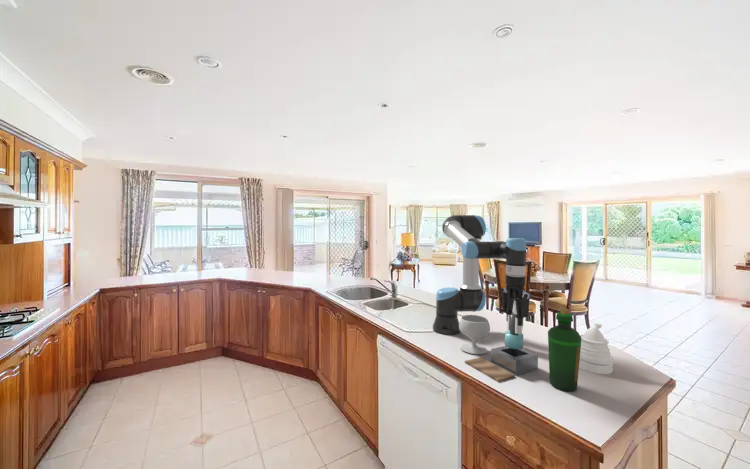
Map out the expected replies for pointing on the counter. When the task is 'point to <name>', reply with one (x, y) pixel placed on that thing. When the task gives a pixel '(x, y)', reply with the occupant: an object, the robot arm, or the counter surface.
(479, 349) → the chalice
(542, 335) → the counter surface
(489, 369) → the walnut mat
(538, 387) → the counter surface
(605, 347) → the honey pot
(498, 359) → the box
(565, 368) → the bottle
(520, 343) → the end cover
